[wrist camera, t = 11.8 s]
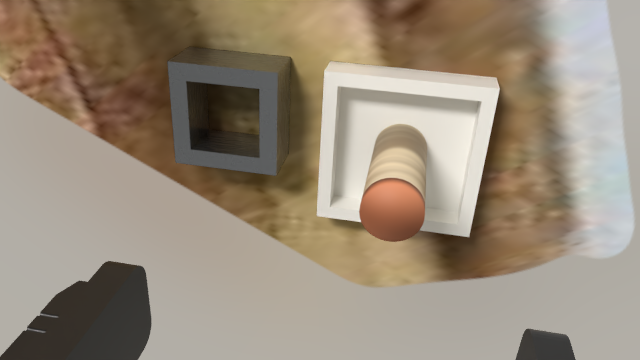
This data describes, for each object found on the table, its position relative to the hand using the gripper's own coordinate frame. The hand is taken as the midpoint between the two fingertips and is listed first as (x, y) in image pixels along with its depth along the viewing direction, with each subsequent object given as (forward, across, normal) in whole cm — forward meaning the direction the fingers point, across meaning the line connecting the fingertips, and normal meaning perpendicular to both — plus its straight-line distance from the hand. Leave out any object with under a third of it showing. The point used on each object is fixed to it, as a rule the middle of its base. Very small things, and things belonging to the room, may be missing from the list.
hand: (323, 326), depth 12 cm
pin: (+31, -1, +10) cm, 33 cm away
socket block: (+32, +12, +8) cm, 35 cm away
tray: (+32, -1, +10) cm, 33 cm away
